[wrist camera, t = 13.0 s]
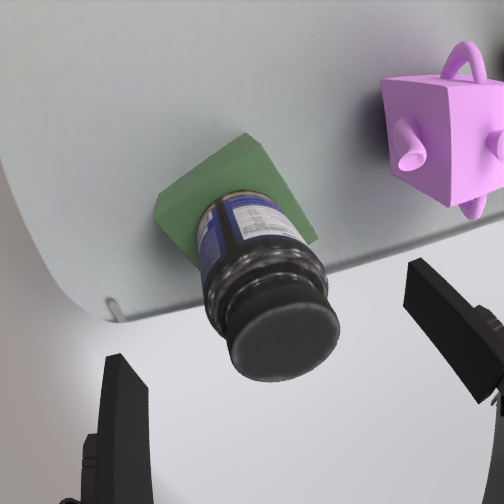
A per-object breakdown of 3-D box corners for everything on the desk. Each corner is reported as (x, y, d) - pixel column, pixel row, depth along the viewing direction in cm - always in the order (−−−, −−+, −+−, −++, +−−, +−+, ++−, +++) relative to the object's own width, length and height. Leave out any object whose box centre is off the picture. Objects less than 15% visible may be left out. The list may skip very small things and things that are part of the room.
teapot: (413, 18, 19) (504, 15, 10) (479, 110, 25) (555, 136, 16) (329, 134, 24) (409, 172, 15) (413, 211, 30) (482, 264, 21)
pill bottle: (231, 281, 23) (264, 406, 14) (177, 224, 20) (176, 350, 11) (299, 233, 23) (373, 341, 13) (252, 168, 19) (319, 256, 10)
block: (219, 264, 28) (225, 298, 24) (158, 194, 24) (152, 220, 20) (297, 212, 27) (319, 238, 23) (246, 132, 23) (260, 143, 19)
